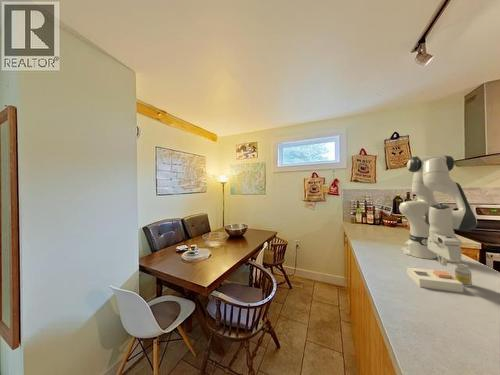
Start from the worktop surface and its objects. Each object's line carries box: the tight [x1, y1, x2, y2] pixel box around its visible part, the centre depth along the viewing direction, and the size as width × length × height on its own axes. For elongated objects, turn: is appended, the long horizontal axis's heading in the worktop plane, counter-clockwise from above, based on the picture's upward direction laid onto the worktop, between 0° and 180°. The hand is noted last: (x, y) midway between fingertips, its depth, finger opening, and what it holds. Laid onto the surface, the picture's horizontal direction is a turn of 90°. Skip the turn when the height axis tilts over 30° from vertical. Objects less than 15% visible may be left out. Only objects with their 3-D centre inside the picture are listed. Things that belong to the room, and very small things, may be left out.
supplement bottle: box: [454, 263, 473, 288], centre depth 92 cm, size 5×5×10 cm
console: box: [406, 267, 464, 293], centre depth 95 cm, size 14×16×4 cm
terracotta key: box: [432, 269, 453, 279], centre depth 94 cm, size 5×5×3 cm
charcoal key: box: [415, 272, 430, 277], centre depth 96 cm, size 5×5×3 cm
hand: (443, 264), depth 93 cm, fingers closed
